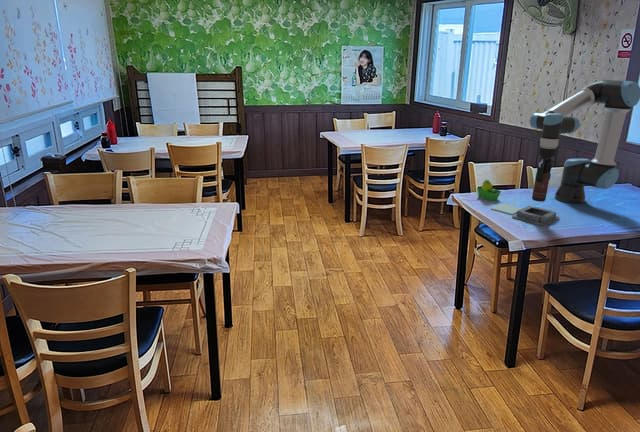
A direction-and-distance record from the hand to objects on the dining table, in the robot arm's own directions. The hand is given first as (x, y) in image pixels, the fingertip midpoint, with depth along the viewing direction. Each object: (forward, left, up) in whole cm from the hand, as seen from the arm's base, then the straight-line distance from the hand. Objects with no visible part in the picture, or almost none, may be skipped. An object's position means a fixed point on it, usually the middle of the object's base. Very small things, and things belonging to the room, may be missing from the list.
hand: (539, 195), depth 221 cm
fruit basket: (-12, -33, -12) cm, 37 cm away
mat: (-2, -16, -12) cm, 20 cm away
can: (0, 0, -3) cm, 3 cm away
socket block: (0, 0, -12) cm, 12 cm away
